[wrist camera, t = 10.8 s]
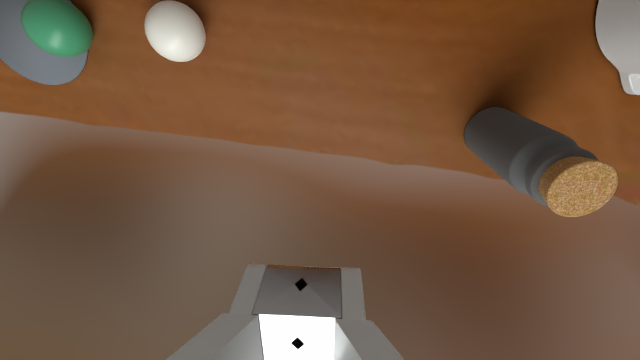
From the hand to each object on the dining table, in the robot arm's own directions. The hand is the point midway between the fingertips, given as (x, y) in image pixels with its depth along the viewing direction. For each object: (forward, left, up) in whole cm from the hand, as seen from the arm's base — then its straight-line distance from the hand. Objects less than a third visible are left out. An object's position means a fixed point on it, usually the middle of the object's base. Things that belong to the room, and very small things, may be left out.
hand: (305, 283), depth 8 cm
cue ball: (+15, -6, -26) cm, 31 cm away
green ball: (+28, -6, -26) cm, 39 cm away
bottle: (-19, +4, -29) cm, 35 cm away
